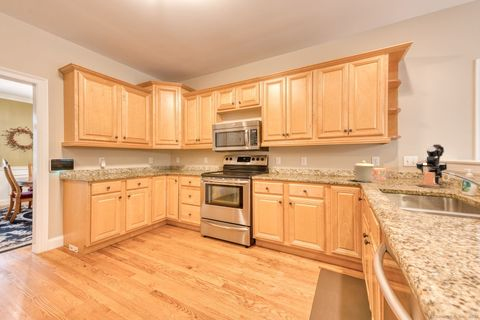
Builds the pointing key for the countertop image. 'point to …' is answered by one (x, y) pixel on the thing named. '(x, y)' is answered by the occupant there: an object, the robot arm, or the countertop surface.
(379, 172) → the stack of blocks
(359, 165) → the canister
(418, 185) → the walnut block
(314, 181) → the countertop surface
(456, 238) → the countertop surface
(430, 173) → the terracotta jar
